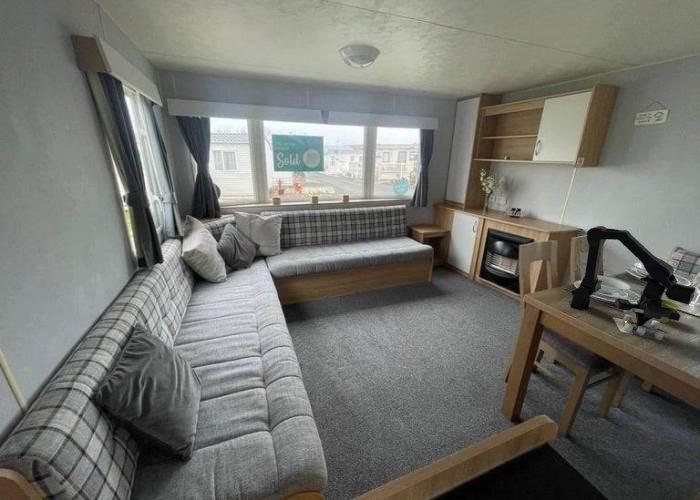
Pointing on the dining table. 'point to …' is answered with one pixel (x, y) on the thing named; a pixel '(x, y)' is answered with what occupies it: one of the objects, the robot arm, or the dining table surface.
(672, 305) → the plant pot
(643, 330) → the board
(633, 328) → the brass knob
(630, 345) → the dining table surface
